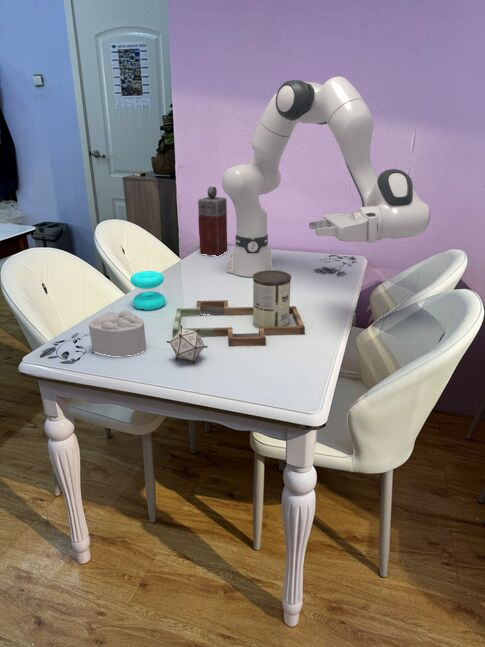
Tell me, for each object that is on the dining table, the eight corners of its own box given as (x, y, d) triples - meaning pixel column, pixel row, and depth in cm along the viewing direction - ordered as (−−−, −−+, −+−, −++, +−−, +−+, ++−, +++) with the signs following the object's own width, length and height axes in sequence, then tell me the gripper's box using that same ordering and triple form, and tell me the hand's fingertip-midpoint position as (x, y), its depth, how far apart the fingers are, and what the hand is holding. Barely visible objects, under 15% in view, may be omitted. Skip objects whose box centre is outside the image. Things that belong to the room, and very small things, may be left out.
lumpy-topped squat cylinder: (111, 336, 120) (107, 305, 117) (155, 343, 116) (152, 311, 113) (87, 353, 111) (82, 320, 108) (133, 361, 107) (129, 328, 104)
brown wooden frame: (179, 307, 138) (178, 301, 138) (292, 305, 140) (292, 299, 139) (170, 347, 113) (170, 340, 113) (308, 344, 115) (309, 337, 114)
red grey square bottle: (205, 249, 203) (202, 184, 191) (227, 252, 198) (226, 186, 187) (195, 254, 195) (192, 187, 184) (218, 257, 191) (216, 188, 180)
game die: (182, 370, 110) (169, 332, 112) (214, 358, 110) (200, 320, 111) (172, 370, 101) (158, 329, 103) (207, 357, 101) (192, 315, 102)
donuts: (153, 281, 130) (123, 277, 133) (155, 313, 134) (126, 309, 137) (169, 271, 139) (141, 268, 142) (171, 301, 143) (143, 298, 146)
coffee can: (258, 314, 133) (259, 268, 128) (292, 319, 130) (295, 272, 124) (247, 328, 124) (247, 279, 119) (284, 333, 121) (285, 283, 116)
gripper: (355, 206, 126) (305, 210, 126) (378, 217, 107) (320, 222, 107) (354, 229, 128) (306, 233, 128) (377, 244, 109) (320, 248, 109)
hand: (312, 228), depth 117 cm, fingers open, 8 cm apart
